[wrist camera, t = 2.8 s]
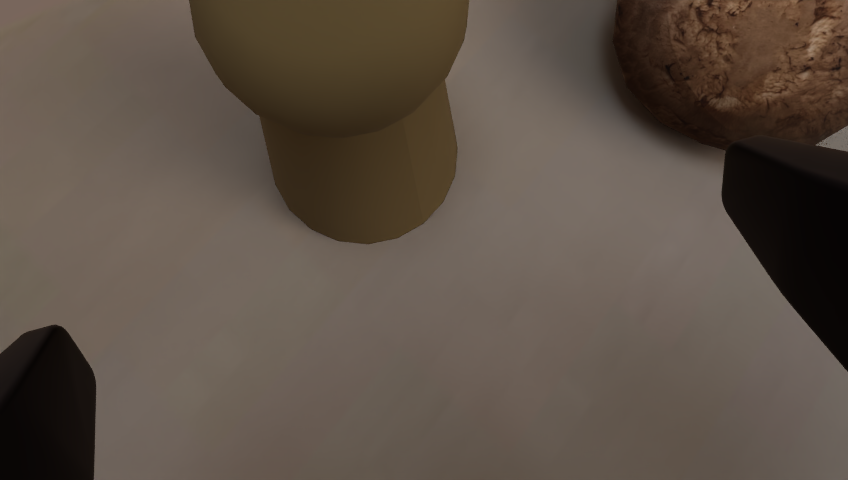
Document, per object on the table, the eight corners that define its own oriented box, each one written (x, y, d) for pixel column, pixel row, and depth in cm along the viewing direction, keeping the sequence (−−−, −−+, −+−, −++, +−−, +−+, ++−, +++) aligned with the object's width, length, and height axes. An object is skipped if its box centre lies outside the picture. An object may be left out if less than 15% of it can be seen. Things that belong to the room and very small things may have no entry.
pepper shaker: (245, 100, 22) (87, -155, 11) (417, 40, 23) (425, -260, 12) (307, 272, 21) (199, 170, 10) (485, 204, 22) (562, 41, 11)
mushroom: (820, -173, 21) (898, -215, 15) (902, 63, 23) (999, 103, 17) (577, -34, 24) (568, -26, 18) (667, 163, 26) (684, 224, 20)
